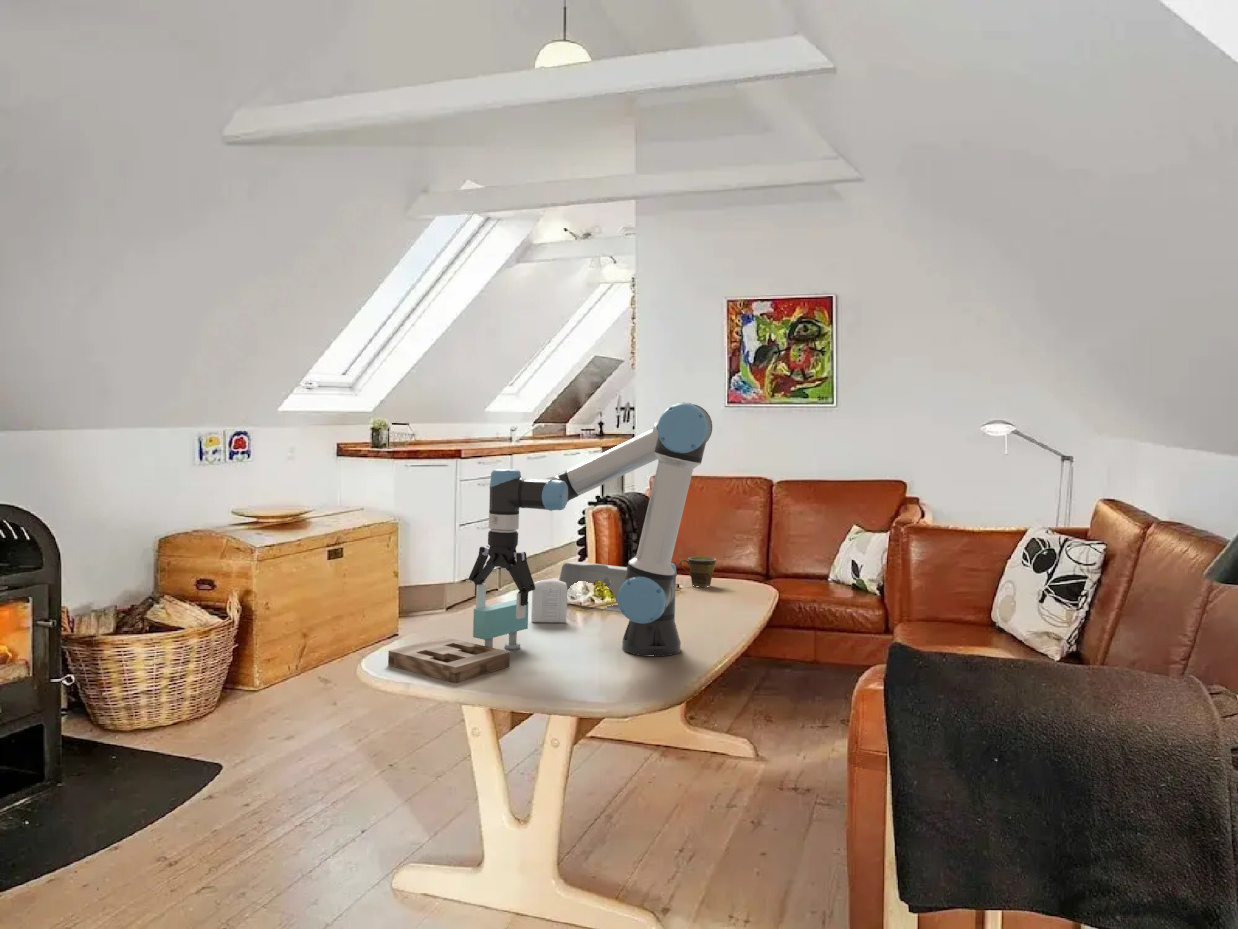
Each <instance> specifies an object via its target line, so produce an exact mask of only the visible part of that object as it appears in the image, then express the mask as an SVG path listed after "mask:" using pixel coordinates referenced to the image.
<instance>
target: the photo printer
mask: <svg viewBox="0 0 1238 929" xmlns="http://www.w3.org/2000/svg"><path fill="white" fill-rule="evenodd" d="M533 582H534V585H535V590H533V591H531V593H532V595H531V596H532V598H531V615H530V616H531V617H530V618H531V620H530V621H531V622H532V623H556V624H557V623H561V624H562V623H564V624H565V623H566V622H567V613H568V612H567V611H568V604H567V586H566V583H565V582H562V581H559V579H542V580H537V581H533Z"/></svg>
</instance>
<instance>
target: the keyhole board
mask: <svg viewBox="0 0 1238 929" xmlns="http://www.w3.org/2000/svg"><path fill="white" fill-rule="evenodd" d="M510 655H511V654H510V650H503V649H499V648H496V647H493V648H491V647H487V646H485V645H482V644H478V643H473V642H468V641H463V640H459V639H455V638H450V637H448V636H447V637H446V636H442V637H438V638H433V639H430V640H425V641H422V642H418V643H414V644H410V645H406V646H400V647H398V648H397V647H396V648H393V649H390V650H388V655H387V656H388V657H387V660H388V661H387V662H388V663H387V665H388V666H389V665H390V667H393V668H398V669H401V670H404V669H405V671H408V670H409V671H408V672H413V673H417V674H420V675H424V676H427V677H430V678H435V679H439V680H442V681H445V682H449V683H450V682H451V683H454V684H457V683H459V682H463V681H466V680H469V679H473V678H476V677H479V676H482V675H486V674H488V673H492V672H495V671H498V670H501V669H506V668H508V667H510V664H511V663H510V658H511V656H510Z"/></svg>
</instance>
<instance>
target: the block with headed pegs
mask: <svg viewBox="0 0 1238 929" xmlns="http://www.w3.org/2000/svg"><path fill="white" fill-rule="evenodd" d="M516 602H517V599H515V600H514V599H513V600H509V601H505V602H500V603H495V604H491V605H487V606H486V605H485V607H481V608H477V609H476V608H473V624H472V625H473V627H472V630H473V631H472V638H474V639H479V640H484V646H487V647H491V648H494V646H493V644H494V638H496V637H501V636H505V635H508V642H506V643H504V649H505V650H508V651H514V650H515V651H516V650H520V649H521V642H520V643H519V642H517V638H518V636H517V635H518V633H517V632H520V631H524V630H527V629H528V628H529V603H528V604H527V605H526V612H525V618H521V619H516Z"/></svg>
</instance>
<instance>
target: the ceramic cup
mask: <svg viewBox="0 0 1238 929" xmlns="http://www.w3.org/2000/svg"><path fill="white" fill-rule="evenodd" d="M682 562H685V563H686V564H687V565H688V567H689V571H688V570H687V569H686V567H684V566H683V565H682ZM716 563H717V559H716V558H714V557H708V556H691V557H688V560H687V559H681V561H680V562H679V566H680V567H681V568H682V569H683V570H684V571H685V572H686V573H687V574H688V575H689V576H690V579H691V585H694V586H699V587H707V586H710V587H711V584H712V578H713V575H714V574H713V573H714V571H715V566H716ZM694 586H693V587H694ZM699 587H698V588H699ZM707 588H708V587H707Z"/></svg>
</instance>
